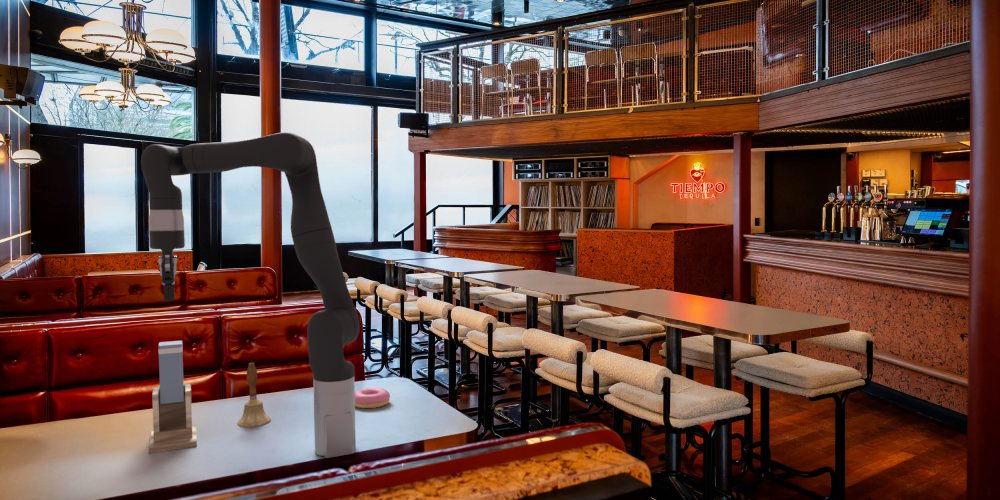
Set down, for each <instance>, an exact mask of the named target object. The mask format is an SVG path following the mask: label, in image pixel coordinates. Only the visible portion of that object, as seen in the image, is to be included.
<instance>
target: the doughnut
mask: <svg viewBox="0 0 1000 500" xmlns="http://www.w3.org/2000/svg"><path fill="white" fill-rule="evenodd" d="M390 398H391V394H390V392H389V391H388V390H387V389H384V388H380V387H369V388H367V387H366V388H363V389H359V390H357V391H355V408H359V409H364V408H372V409H377V408H376V407H379V408H381V407H380V406H382V407H384V406H383V405H385V404H386V405H387V404H388V403H389V402H390ZM386 405H385V406H386Z"/></svg>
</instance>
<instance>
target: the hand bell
mask: <svg viewBox="0 0 1000 500" xmlns="http://www.w3.org/2000/svg"><path fill="white" fill-rule="evenodd" d="M246 379H247V383H248V387H249V399H248V401H246V402H245V403H244V407H243V408H244V409H243V414H242V416H241V418H240V419H238V421H237V425H238V427H243V428H252V427H260V426H263V425H266V424H267V425H268V423H270V422H271V417H270V416H269V415H267V413H266V411H265V409H264V404H263V401H262V400H261V399H258V398H257V397H258V396H257V387H256V386H257V381H258V371H257V368H256V365H255V362H249V363H248V367H247V369H246Z"/></svg>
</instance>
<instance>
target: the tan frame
mask: <svg viewBox="0 0 1000 500" xmlns="http://www.w3.org/2000/svg"><path fill="white" fill-rule="evenodd" d="M183 384H184V401H182V402H173V403H165V404H160V386H156V387H155V386H154V387H153V389H152V390H153V391H152V395H151V397H152V400H151V401H152V421H153V423H152V425H153V429H151V433H150V439H149V446H148V453H149V454H152V453H158V452H164V451H165V452H166V451H173V450H179V449H186V448H193V447H197V446H198V445H197V444H198V440H197V424H196V423H195V424H194V423H193V417H192V414H193V413H192V411H193V410H192V388H191V387H192V385H191V384H192V383H183Z"/></svg>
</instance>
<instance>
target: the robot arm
mask: <svg viewBox="0 0 1000 500" xmlns="http://www.w3.org/2000/svg"><path fill="white" fill-rule="evenodd" d="M315 151H316V150H315V148H314V146H313V145H312V144H311V143H310V141H308V140H307V139H306V138H304V137H302V136H300V135H297V134H295V133H292V132H291V131H290V132H288V131H283V132H277V133H274V134H273V133H272V134H269V135H268V134H267V135H264V136H260V137H257V138H250V139H246V140H245V139H244V140H237V141H235V140H234V141H222V142H221V141H218V142H202V143H200V142H199V143H191V144H189V145H186V146H170V145H164V144H158V143H157V144H156V143H155V144H150V145H148V146H146V147H145V148H144V149H143V152H142V154H141V158H140V165H141V172H142V174H143V178H144V181H145V185H146V187H147V190H148V193H149V194H148V199H149V201H148V202H149V205H148V206H149V215H148V234H149V235H148V236H149V248H150V249H152V250H160V251H161V256H160V255H159V256H158V258H157V259H158V264H159V275H160V277H161V285H162V286H163V300H164V301H165V302H173V301H174V300H175V284H176V277H175V276H177V263H178V256H177V255H174V250H176V249H184V248H185V245H186V244H185V243H186V242H185V241H186V240H185V239H186V238H185V217H184V212H183V194H182V190H181V188H180V187H178V186H177V185H175V184H174V182H173V179H172V176H174V177H175V176H186V175H191V174H211V173H213V174H214V173H223V172H228V171H232V170H233V171H234V170H237V169H240V168H241V169H242V168H248V167H249V168H251V167H254V168H255V167H256V168H257V167H258V168H268V169H274V170H278V171H280V172H282V173H284V175H285V177H286V179H287V183H288V187H289V191H290V194H291V200H292V202H291V203H292V205H291V206H292V207H291V216H290V233H291V234H290V235H291V239H292V242H293V247H294V251H295V254H296V257H297V259H298V262H299V263H300V264H301V267H302V268H303V269H304V270H305V272H306V273H307V274H308V276H309V277H310V279H312V281H313V282H314V284H315V285H316V287H317V289H318V290H319V294H320V296H321V299H322V302H323V303H322V304H323V307H324V309H321V310H319V311H317V312H314V313H313V314H312V315H311V317H310V319H309V320H308V323H307V329H306V330H307V331H306V333H307V349H308V350H307V351H308V360H309V366H310V369H311V371H312V375H313V376H312V377H313V383H312V384H313V423H314V425H313V427H314V429H313V430H314V454H316V455H317V456H322V457H325V459H328V458H329V459H330V458H335V457H341V456H345V455H346V456H348V455H353V454H354V451H356V445H357V443H356V442H357V441H356V406H355V392H356V391H355V387H356V386H355V365H354V364H353V363H352V362H351V361H349V360H346V359H345V355H344V346H346V345H349V344H352V343H353V342H355V341H356V340H357V338H358V336H359V334H360V329H361V328H360V327H361V325H360V320H359V315H358V312H357V310H356V307H355V305H354V302H353V299H352V296H351V294H350V291H349V288H348V285H347V282H346V278H345V275H344V271H343V267H342V264H341V261H340V257H339V253H338V249H337V243H336V238H335V236H334V231H333V227H332V225H331V221H330V219H329V214H328V210H327V207H326V201H325V199H324V196H323V193H322V188H321V182H320V177H319V176H320V175H319V170H318V162H317V155H316V152H315Z"/></svg>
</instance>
